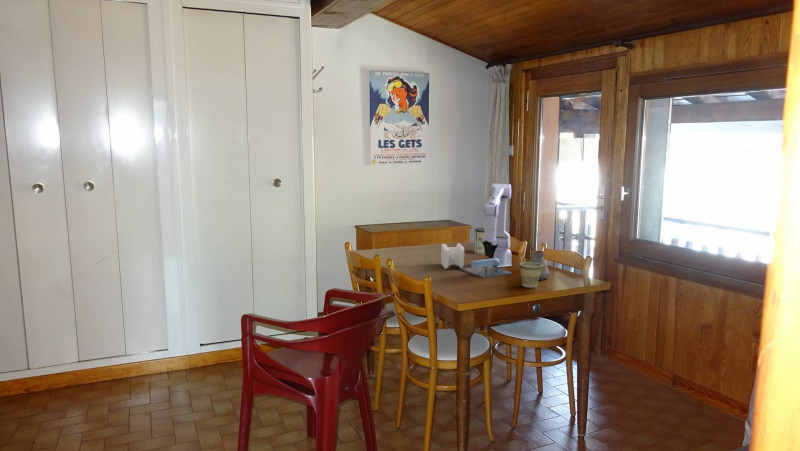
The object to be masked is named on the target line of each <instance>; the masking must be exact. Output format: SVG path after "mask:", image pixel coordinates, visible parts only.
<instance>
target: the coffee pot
mask: <svg viewBox="0 0 800 451" xmlns="http://www.w3.org/2000/svg"><path fill="white" fill-rule="evenodd" d="M526 245H528V246H529V247H530V250H531V253H532V257H531V258H530V260H529V262H533V263H539V264H541V265H544V266H545V270H544V271H543V272H542V273H541V274H540V275H539V280H541V281H542V280H545V279H546V278H547V277H548V276H549V275H550V270H549V267H548V264H547V262H546V260H545V255H546V251H542V250H535V249H534V247H533V244H532V242H530V241H529V242H527V244H526ZM544 266H542V269H541V271H542V270H543V269H544ZM539 280H538V281H539Z"/></svg>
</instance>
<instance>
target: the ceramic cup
mask: <svg viewBox="0 0 800 451" xmlns="http://www.w3.org/2000/svg"><path fill="white" fill-rule="evenodd" d="M542 266H544V265H541V264H539V263H533V262H530V261H528V262H525V261H524V262H520V263H519V270H520V278H521V284H522V287H525V288H531V289H532V288H537V287H538V283H539V275H540V274H541V273H542V272H543V271H544V270H545V266H544V269H543V270H542V271H541V269H542Z"/></svg>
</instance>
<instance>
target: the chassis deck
mask: <svg viewBox="0 0 800 451" xmlns="http://www.w3.org/2000/svg"><path fill="white" fill-rule="evenodd" d="M460 270H461V272H464V273H467V274H469V275H473V276H475V277H477V278H481V279H487V278H495V277H496V278H497V277H503V276H511V275H513V272H511V271H509V270H505V269H502V268H500V267H497V271H495V272H492V273H484V274H475V273H472V272H471V267H465V268H464V267H463V268H462V269H460Z"/></svg>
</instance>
